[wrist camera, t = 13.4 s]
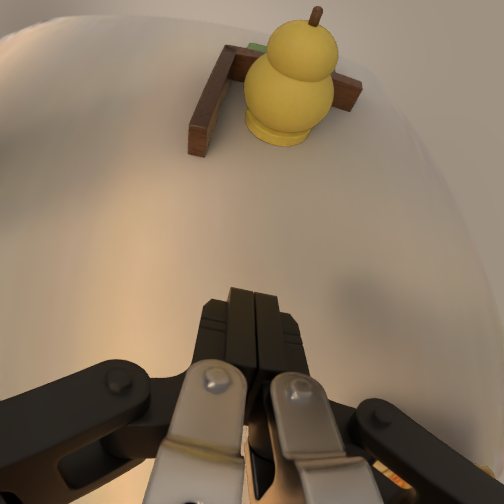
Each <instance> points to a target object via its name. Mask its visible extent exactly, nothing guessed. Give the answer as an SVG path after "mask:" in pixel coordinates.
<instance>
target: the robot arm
mask: <svg viewBox="0 0 504 504" xmlns="http://www.w3.org/2000/svg"><path fill="white" fill-rule="evenodd" d="M302 344H303V343H302V339H301V337H300V330H299V326H298V324H297V322H296V321H295V320H294V319H293V317H292V316H291V315H290V314H288V313H283V312H280V311H279V305H278V299H277V296H273V295H268V294H263V293H258V292H254V293H253V291H248V290H243V289H238V288H233V287H231V288H230V291H229V295H228V299H227V302H225V301H221V300H216V299H211V300H210V301H209V302H208V303H206V304H205V305H204V306H203V310H202V315H201V320H200V325H199V330H198V334H197V339H196V344H195V349H194V354H193V359H192V363H191V365H190V367H189V368H188V369H187V370H186V371H184V372H183V373H181V374H179V375H177V376H173V377H168V378H150V377H149V376H148V374H147V373H146V371H145V370H144V369H143V368H141V367H140V366H138V365H137V364H135V363H133V362H130V361H126V360H119V359H113V360H107V361H103V362H101V363H98V364H96V365H93V366H91V367H88V368H86V369H84V370H81V371H79V372H76V373H74V374H71V375H69V376H66V377H63V378H61V379H58V380H56V381H53V382H51V383H48V384H46V385H43V386H40V387H38V388H35V389H32V390H30V391H27V392H24V393H22V394H19V395H16V396H14V397H11V398H8V399H5V400H3V401H0V504H68V503H70V502H72V501H74V500H76V499H78V498H80V497H82V496H84V495H86V494H88V493H90V492H92V491H94V490H95V489H97V488H99V487H101V486H103V485H105V484H106V483H108V482H110V481H112V480H113V479H115V478H117V477H119V476H120V475H122V474H124V473H126V472H127V471H129V470H131V469H132V468H134V467H136V466H137V465H139V464H140V463H142V462H143V461H144V460H145V459H146V458H156V459H155V463H154V466H153V469H152V472H151V476H150V479H149V482H148V486H147V489H146V492H145V496H144V499H143V502H142V504H241V503H242V492H243V481H244V470H245V463H246V473H247V483H248V492H249V502H250V504H504V485H503V484H502V483H500V482H499V481H498V480H496V479H495V478H493V477H492V476H490V475H489V474H487V473H486V472H485V471H483V470H482V469H480V468H479V467H477V466H476V465H475V464H473V463H472V462H470V461H469V460H467V459H466V458H465V457H463V456H462V455H460V454H459V453H458V452H456V451H455V450H453V449H452V448H451V447H449V446H448V445H447V444H445V443H444V442H442V441H441V440H440V439H438V438H437V437H436V436H434V435H433V434H432V433H430V432H429V431H427V430H426V429H425V428H423V427H422V426H421V425H419V424H418V423H417V422H415V421H414V420H413V419H411V418H410V417H409V416H407V415H406V414H405V413H403V412H402V411H401V410H399V409H398V408H397V407H395V406H394V405H393V404H391V403H389V402H387V401H385V400H382V399H377V398H371V399H366V400H364V401H363V402H361V403H360V404H359V406H358V407H357V409H355V408H352V407H349V406H346V405H342V404H339V403H336V402H334V401H331V400H329V399H328V398H327V395H326V392H325V390H324V388H323V387H322V386H321V385H320V383H319V382H317V381H316V380H315V379H313V378H312V377H310V373H309V369H308V365H307V360H306V356H305V352H304V347H303V346H302ZM243 425H246V426H249V436H248V438H247V440H246V442H245V445H244V453H245V460H244V456H241V441H242V431H243ZM377 461H379V462H380V463H382V464H383V465H384V466H386V467H387V468H388V469H389V470H391V471H392V472H393V473H394V474H396V475H397V476H398V477H400V478H401V479H402V480H404V481H405V482H406V483H408V484H409V485H410V486H412V488H409V489H405V488H401V487H400V486H398V485H397V484H396V483H394V482H393V481H392V480H390V479H389V478H388V477H387V476H385V475H384V474H383V473H381V472H380V471H379V470H378V469H376V468H375V467H374V466H373V465H374V464H375V463H376V462H377Z"/></svg>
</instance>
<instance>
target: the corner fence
mask: <svg viewBox="0 0 504 504" xmlns="http://www.w3.org/2000/svg"><path fill="white" fill-rule="evenodd" d="M264 54H265V52H261V51H256V50H252V49H247V48H242V47H237V46H231V45H225V46H224V48H223V50H222V52H221V54H220V56H219V58H218V60H217V62H216V64H215V66H214V69H213V71H212V73H211V75H210V77H209V79H208V82H207V84H206V86H205V88H204V90H203V93H202V95H201V97H200V100H199V102H198V104H197V107H196V109H195V111H194V114H193V116H192V118H191V121H190V123H189V134H188V154H190V155H195V156H200V157H205V154H206V151H207V148H208V145H209V142H210V139H211V136H212V133H213V130H214V127H215V124H216V121H217V118H218V115H219V112H220V110H221V107H222V104H223V101H224V98H225V96H226V93H227V90H228V87H229V85H230V82H231V80H236V81H241V82H245V78H246V75H247V72H248V70H249V69H250V67H251V66H252V64H253V63H254V62H255V61H256V60H257V59H258V58H259V57H261V56H262V55H264ZM330 75H331V78H332V81H333V86H334V97H333V102H332V105H331V106H334V107H337V108H340V109H343V110H346V111H349V112H350V111H351V109H352V107H353V105H354V104H355V102H356V100H357V98H358V97H359V95H360V93H361V91H362V90H363V88H362V82H360V81H358V80H355V79H352V78H350V77H347V76H344V75H341V74H338V73H335V72H332V73H331V74H330Z"/></svg>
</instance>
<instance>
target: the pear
mask: <svg viewBox="0 0 504 504" xmlns="http://www.w3.org/2000/svg"><path fill="white" fill-rule="evenodd" d="M322 13H323V9H322V8H321V7H319V6H316V7H314V8H313V11H312V13H311V16H310V19H309V21H308V20H294V21H290V22H287V23H285V24H283V25H281V26H280V27H278V28H277V29H276V30H275V31H274V32H273V34H272V35H271V37H270V38H269V41H268V44H267V53H265V54H264V55H262V56H261V57H259V58H258V59H257V60H256V61H255V62H254V63H253V64H252V66H251V67H250V69H249V70H248V72H247V75H246V78H245V82H244V96H245V100H246V103H247V109H246V114H245V121H246V124H247V126H248V128H249V130H250V131H251V132H252V133H253V134H254V135H255V136H256V137H258V138H259V139H261V140H263V141H265V142H267V143H270V144H273V145H278V146H293V145H296V144H299V143H301V142H302V141H304V140H305V139H306V138H307V136H308V134H309V132H310V130H311V128H312V127H313V126H315V125H316V124H318V123H319V122H320V121H321V120H322V119H323V118H324V117H325V116H326V115H327V113H328V111H329V110H330V108H331V105H332V102H333V97H334V86H333V81H332V78H331V75H330V74H331V73H332V72H333V70H334V68H335V67H336V64H337V61H338V47H337V44H336V41H335V39H334V38H333V36H332V35H331V33H330V32H329V31H328V30H327V29H325V28H324V27H322V26H321V25H319V21H320V18H321V16H322Z"/></svg>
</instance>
